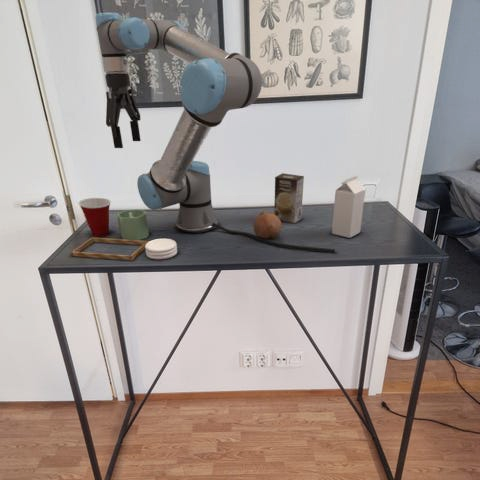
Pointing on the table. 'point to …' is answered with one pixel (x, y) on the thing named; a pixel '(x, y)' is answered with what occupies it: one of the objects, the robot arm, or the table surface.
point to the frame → (109, 256)
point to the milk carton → (348, 208)
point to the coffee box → (288, 197)
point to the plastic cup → (96, 215)
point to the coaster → (161, 249)
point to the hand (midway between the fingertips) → (128, 144)
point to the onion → (267, 226)
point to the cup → (133, 225)
